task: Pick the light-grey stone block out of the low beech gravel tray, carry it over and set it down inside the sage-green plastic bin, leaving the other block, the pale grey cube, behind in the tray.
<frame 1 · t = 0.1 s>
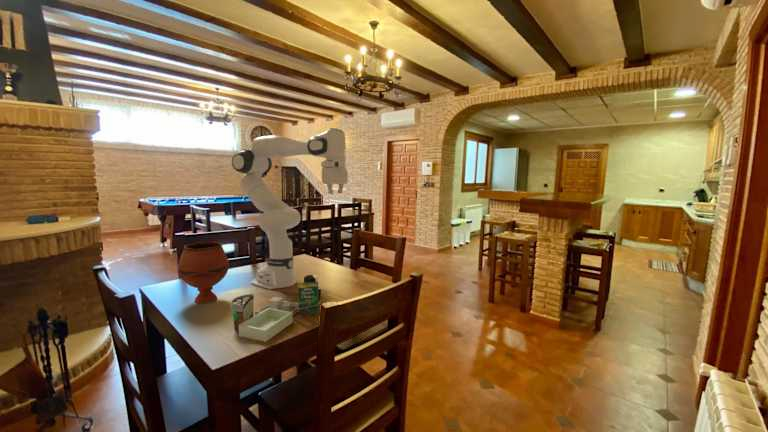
hand: (335, 193, 148), 48 cm above the table, fingers open, 8 cm apart
pale grey cube: (286, 312, 128), resting in beech tray
food container: (240, 326, 116), on the table
grey stone: (276, 310, 130), resting in beech tray
goblet: (205, 300, 138), on the table
coffee box: (308, 314, 127), on the table
medicine bottle: (310, 302, 139), on the table
beech tray: (280, 311, 129), on the table
sage bin: (267, 328, 114), on the table
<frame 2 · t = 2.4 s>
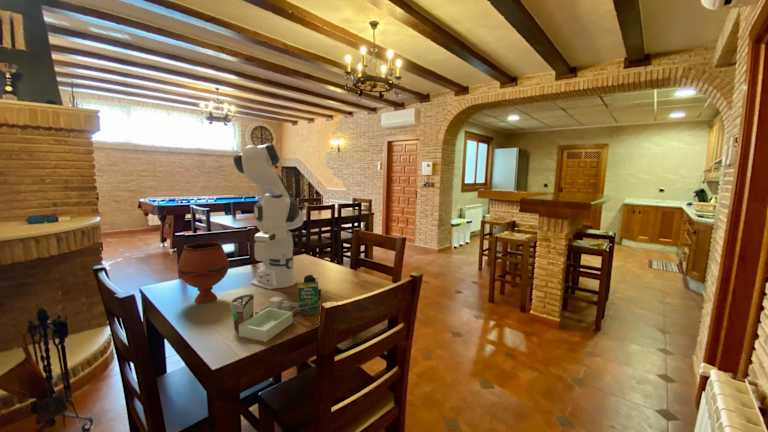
hand: (275, 266, 127), 19 cm above the table, fingers open, 8 cm apart
nothing on the table moved.
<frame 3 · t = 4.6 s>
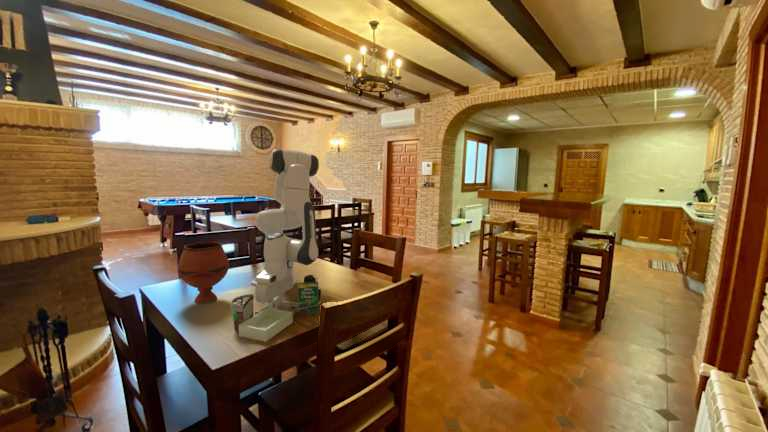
hand: (276, 305, 129), 2 cm above the table, fingers closed on grey stone, 4 cm apart
grey stone: (276, 310, 130), resting in beech tray, touching gripper
everything else where it was.
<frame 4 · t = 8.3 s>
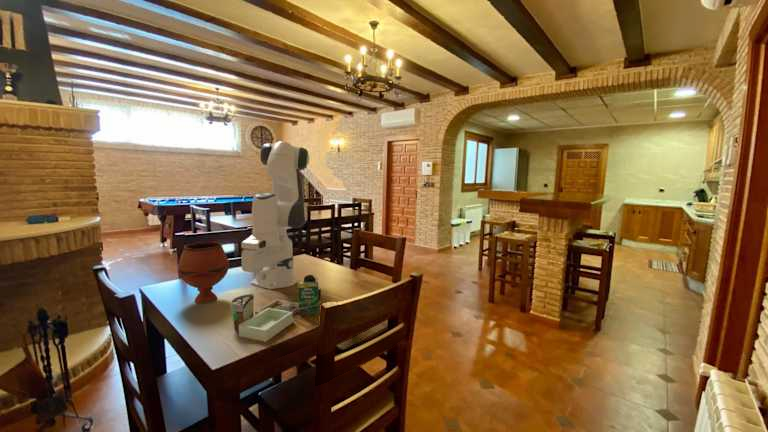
hand: (266, 277, 112), 19 cm above the table, fingers closed on grey stone, 4 cm apart
grey stone: (267, 283, 112), point 17 cm above the table, touching gripper
everything else where it was.
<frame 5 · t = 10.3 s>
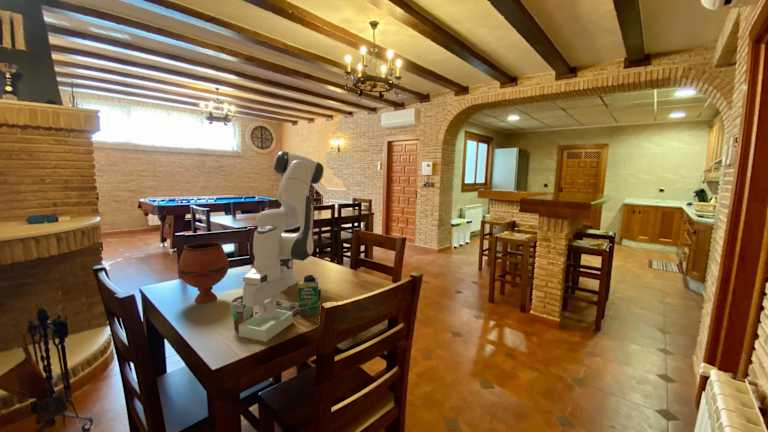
hand: (268, 309, 113), 7 cm above the table, fingers closed on grey stone, 4 cm apart
grey stone: (268, 314, 113), point 5 cm above the table, touching gripper
everything else where it was.
when the fingers open (5 cm above the table, at t = 11.7 s): grey stone drops 2 cm, resting on sage bin.
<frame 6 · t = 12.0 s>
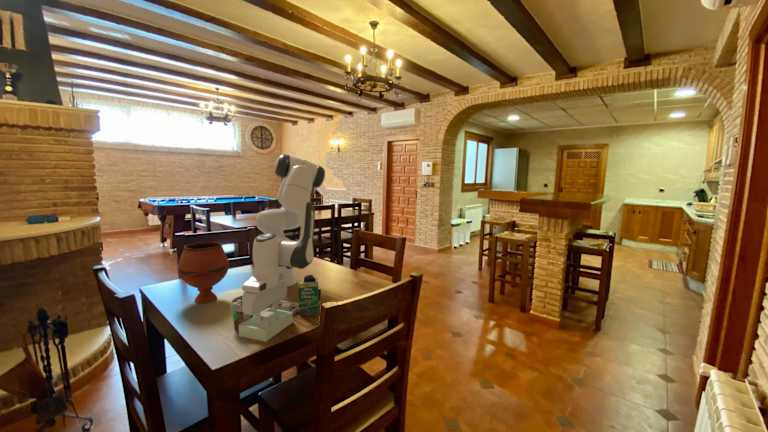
hand: (267, 316, 113), 5 cm above the table, fingers open, 7 cm apart
grey stone: (267, 327, 114), point 1 cm above the table, touching sage bin
everything else where it was.
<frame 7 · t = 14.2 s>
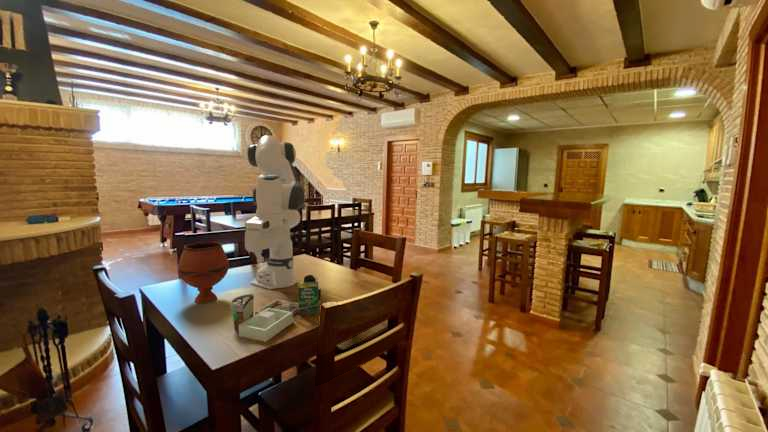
hand: (269, 259, 112), 26 cm above the table, fingers open, 8 cm apart
nothing on the table moved.
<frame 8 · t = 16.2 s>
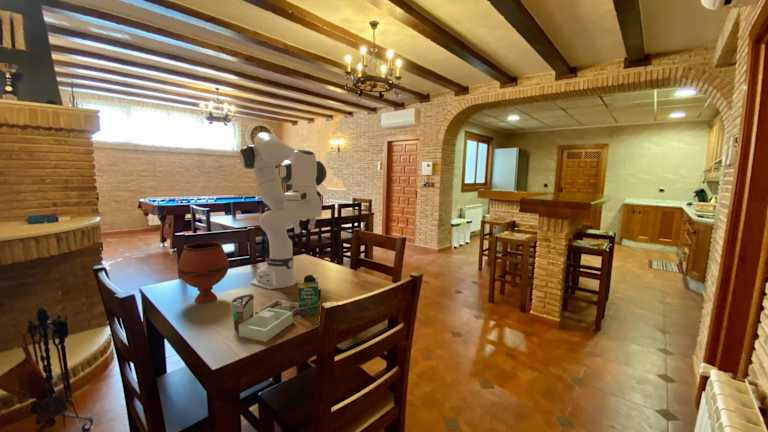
hand: (304, 230, 118), 35 cm above the table, fingers open, 8 cm apart
nothing on the table moved.
at the end: grey stone inside the target area on the sage bin (0.1 cm from its centre), point 0.6 cm above the sage bin's base; the gripper is holding nothing; pale grey cube moved 0.1 cm from its start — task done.
